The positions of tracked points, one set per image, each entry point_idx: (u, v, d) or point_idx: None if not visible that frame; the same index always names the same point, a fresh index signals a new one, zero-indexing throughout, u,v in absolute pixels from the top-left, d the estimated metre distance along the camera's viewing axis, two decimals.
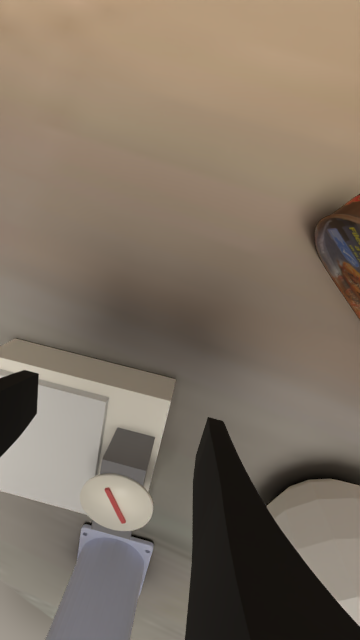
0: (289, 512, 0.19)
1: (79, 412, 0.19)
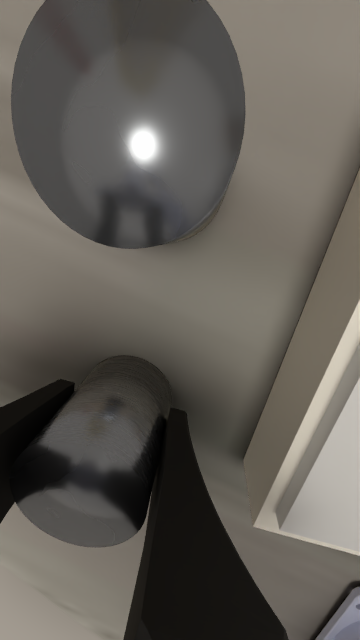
0: None
1: None
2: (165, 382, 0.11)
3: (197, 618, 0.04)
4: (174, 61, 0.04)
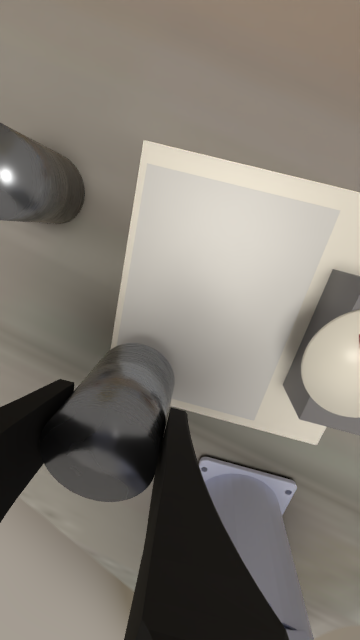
0: None
1: (288, 234, 0.12)
2: (169, 367, 0.13)
3: (198, 618, 0.04)
4: (3, 149, 0.11)
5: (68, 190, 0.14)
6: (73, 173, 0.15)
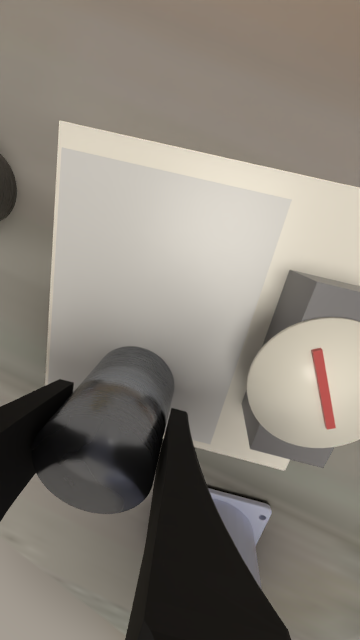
0: None
1: (232, 229, 0.10)
2: (168, 371, 0.12)
3: (200, 619, 0.04)
4: None
5: None
6: None
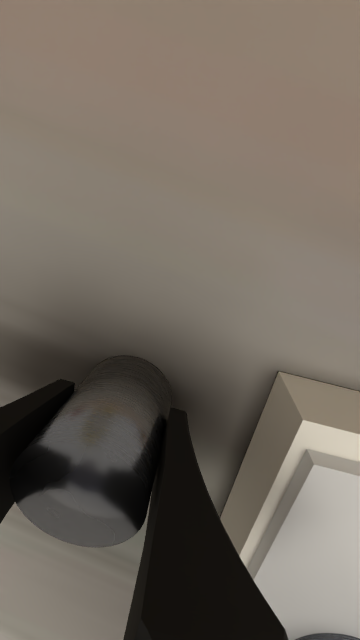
0: None
1: None
2: None
3: (196, 618, 0.04)
4: (103, 480, 0.07)
5: None
6: (165, 398, 0.11)
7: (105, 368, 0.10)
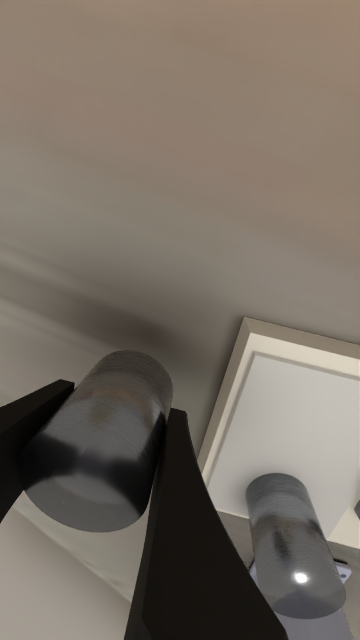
0: None
1: None
2: (307, 492, 0.17)
3: (197, 618, 0.04)
4: (108, 465, 0.07)
5: (165, 425, 0.10)
6: (166, 391, 0.11)
7: (108, 362, 0.11)
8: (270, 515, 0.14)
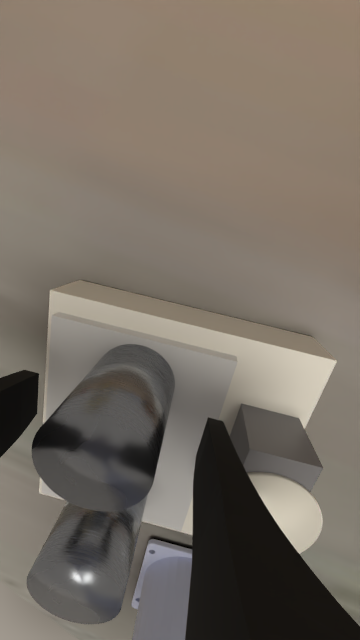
0: None
1: (191, 379, 0.13)
2: None
3: None
4: (115, 446, 0.08)
5: (168, 413, 0.11)
6: (169, 382, 0.12)
7: (113, 355, 0.11)
8: None
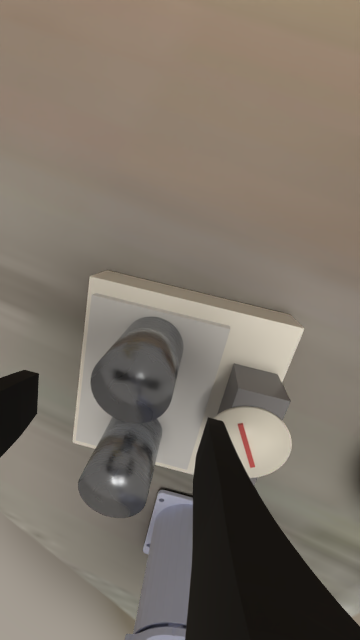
0: None
1: (196, 343, 0.17)
2: (158, 424, 0.19)
3: None
4: (147, 374, 0.12)
5: (179, 365, 0.15)
6: (179, 343, 0.16)
7: (139, 323, 0.15)
8: (106, 435, 0.17)
